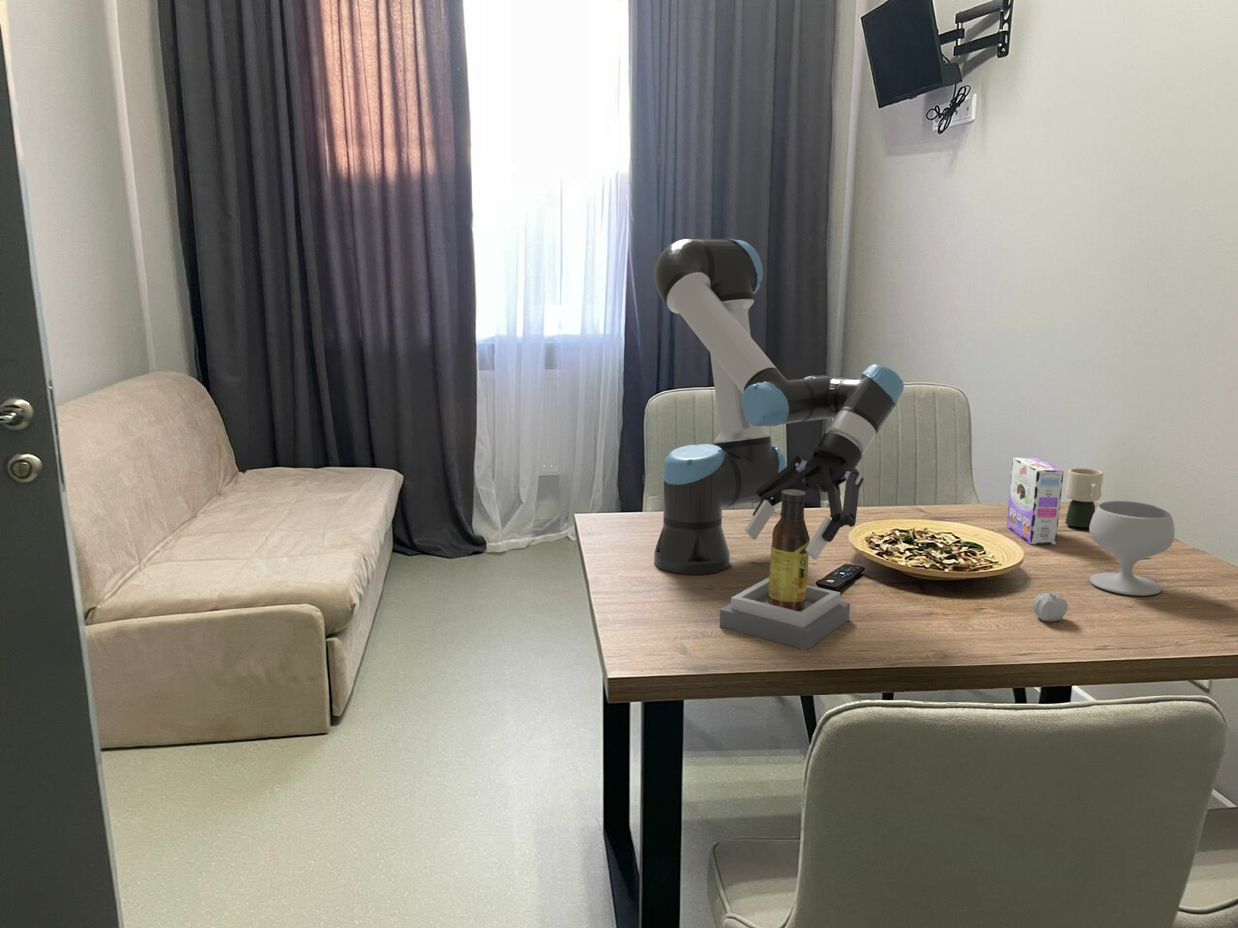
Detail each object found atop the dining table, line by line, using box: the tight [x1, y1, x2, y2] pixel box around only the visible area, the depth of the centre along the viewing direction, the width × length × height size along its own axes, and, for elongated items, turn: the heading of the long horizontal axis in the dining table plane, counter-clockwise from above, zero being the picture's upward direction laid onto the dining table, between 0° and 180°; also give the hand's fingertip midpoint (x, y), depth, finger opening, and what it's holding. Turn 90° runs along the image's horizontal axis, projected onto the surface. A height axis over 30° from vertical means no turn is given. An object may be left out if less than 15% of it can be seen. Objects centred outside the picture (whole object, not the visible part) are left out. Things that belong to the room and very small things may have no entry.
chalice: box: [1088, 500, 1176, 597], centre depth 179 cm, size 14×14×15 cm
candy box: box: [1006, 457, 1065, 546], centre depth 211 cm, size 14×6×16 cm, turn 179°
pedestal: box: [719, 576, 851, 651], centre depth 163 cm, size 16×16×5 cm
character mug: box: [1064, 467, 1104, 529], centre depth 218 cm, size 11×7×13 cm, turn 178°
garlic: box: [1032, 591, 1069, 622], centre depth 165 cm, size 6×5×5 cm
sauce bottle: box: [768, 489, 811, 611], centre depth 160 cm, size 6×6×20 cm
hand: (779, 544), depth 159 cm, fingers open, 13 cm apart
